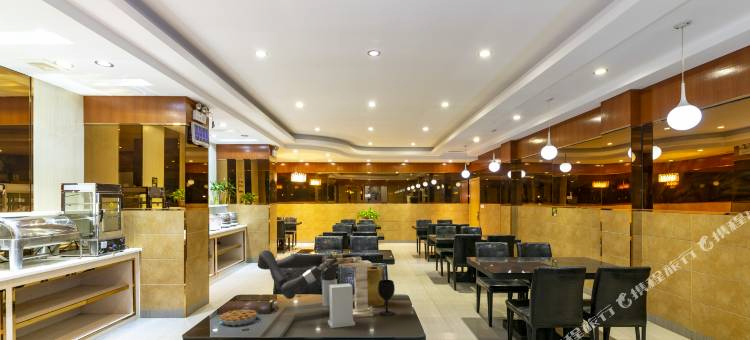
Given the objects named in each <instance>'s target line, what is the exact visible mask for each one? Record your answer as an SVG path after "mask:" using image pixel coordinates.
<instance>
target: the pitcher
mask: <svg viewBox="0 0 750 340" xmlns="http://www.w3.org/2000/svg"><path fill="white" fill-rule="evenodd" d="M383 270H384V266H376V265H375V266H373V265H372V266H367V289H368V307H369V306H370V307H380V306H383V305H385V302H384V301H385V300H384V299H383V298H381V296H380V295H379V293H378V284H379V281H380V280H384V278H383Z"/></svg>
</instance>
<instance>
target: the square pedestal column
mask: <svg viewBox="0 0 750 340" xmlns="http://www.w3.org/2000/svg"><path fill="white" fill-rule="evenodd" d="M339 265H340V267H342V269H349V268H353V271H354V272H353V274H354V275H353V276H354V308H353V319H355V318H365V317H373V316H374V311H373V310H371V308H370V307H369V305H368V289H367V267H369V266H373V264H372V262H371V261H369V260H368V259H367V260H362V263H347V264H339Z"/></svg>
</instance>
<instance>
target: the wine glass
mask: <svg viewBox="0 0 750 340" xmlns="http://www.w3.org/2000/svg"><path fill="white" fill-rule="evenodd" d="M395 289H396V288H395V283H394V281H393V280H391V279H383V280H380V281H379V284H378V293H379V295H380V296H381V298H383V299H384V301H385V302H384V303H385V310H381V311H379V312H378V315H379V316H382V317H391V316H395V315H396V312H395V311H392V310H389V309H388V301H389V300H391V299H392V297H393V296H394V294H395V291H396V290H395Z"/></svg>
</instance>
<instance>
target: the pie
mask: <svg viewBox="0 0 750 340" xmlns="http://www.w3.org/2000/svg"><path fill="white" fill-rule="evenodd" d="M258 315H259V314H258V311H256V310H255V309H244V308H241V309H234V310H228V311H227V312H224V313H222V314H220V316H219V320H220V321H221V324H222V325H224V324H225V326H228V325H232V326H231V327H236V326H235V325H238V326H243V324H244V325H247V324H251V323H253V322H254V321H256V318H257V317H258Z"/></svg>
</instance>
